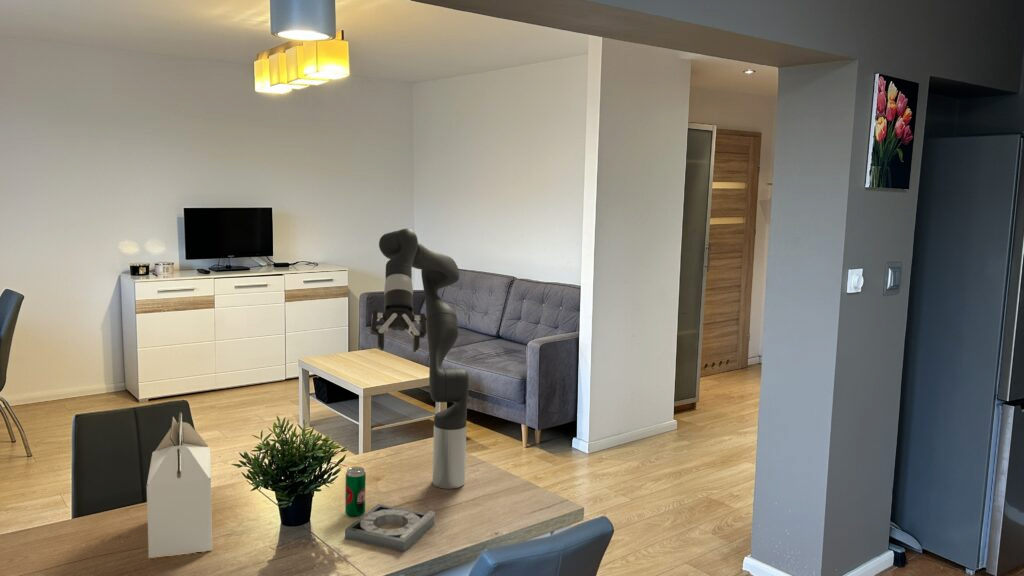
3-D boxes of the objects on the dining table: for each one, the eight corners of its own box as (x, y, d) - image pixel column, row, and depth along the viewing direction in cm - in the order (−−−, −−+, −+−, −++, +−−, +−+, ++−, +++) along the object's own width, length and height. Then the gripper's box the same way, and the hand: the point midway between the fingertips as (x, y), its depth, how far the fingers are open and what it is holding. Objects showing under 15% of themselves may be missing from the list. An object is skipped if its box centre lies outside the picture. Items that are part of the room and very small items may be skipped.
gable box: (154, 518, 195) (151, 409, 191) (211, 512, 200) (209, 406, 196) (148, 560, 175) (145, 439, 171) (212, 552, 179) (210, 434, 175)
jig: (378, 513, 203) (378, 500, 203) (434, 524, 198) (434, 511, 197) (344, 538, 188) (344, 525, 188) (404, 552, 183) (404, 537, 182)
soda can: (360, 519, 199) (361, 474, 197) (342, 516, 200) (342, 471, 198) (368, 511, 204) (368, 467, 202) (349, 509, 205) (350, 464, 203)
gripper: (422, 303, 215) (423, 357, 207) (370, 299, 211) (368, 354, 203) (427, 290, 209) (428, 345, 201) (373, 286, 205) (372, 342, 197)
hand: (398, 349), depth 202 cm, fingers open, 8 cm apart
